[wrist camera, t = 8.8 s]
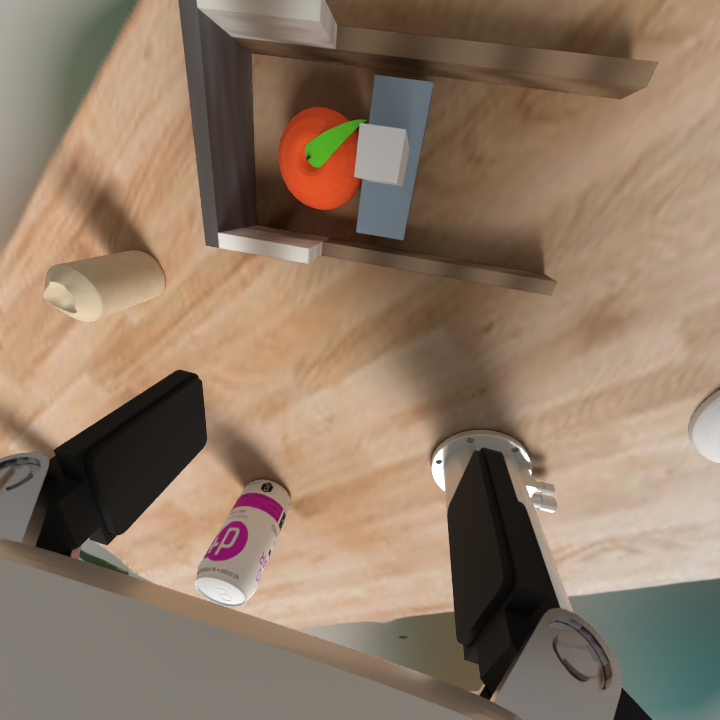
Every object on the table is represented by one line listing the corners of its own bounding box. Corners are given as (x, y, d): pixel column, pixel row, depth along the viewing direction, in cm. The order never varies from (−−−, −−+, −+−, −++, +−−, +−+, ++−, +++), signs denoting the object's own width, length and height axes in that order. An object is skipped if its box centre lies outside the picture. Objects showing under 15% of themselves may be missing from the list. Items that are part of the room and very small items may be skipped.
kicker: (431, 99, 24) (441, 26, 14) (405, 234, 29) (397, 257, 18) (381, 93, 24) (353, 16, 14) (364, 227, 29) (333, 246, 19)
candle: (129, 292, 38) (43, 322, 29) (117, 246, 35) (18, 263, 26) (170, 300, 37) (95, 332, 29) (161, 253, 34) (75, 273, 26)
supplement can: (239, 477, 51) (179, 573, 38) (283, 476, 49) (235, 576, 36) (257, 509, 55) (207, 606, 42) (298, 509, 53) (260, 611, 40)
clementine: (352, 87, 25) (330, 51, 19) (395, 170, 27) (388, 162, 21) (281, 154, 28) (242, 142, 22) (325, 223, 30) (301, 230, 24)
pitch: (629, 77, 22) (710, 33, 16) (539, 286, 30) (570, 310, 24) (236, 31, 24) (176, -24, 18) (246, 235, 32) (205, 245, 26)
